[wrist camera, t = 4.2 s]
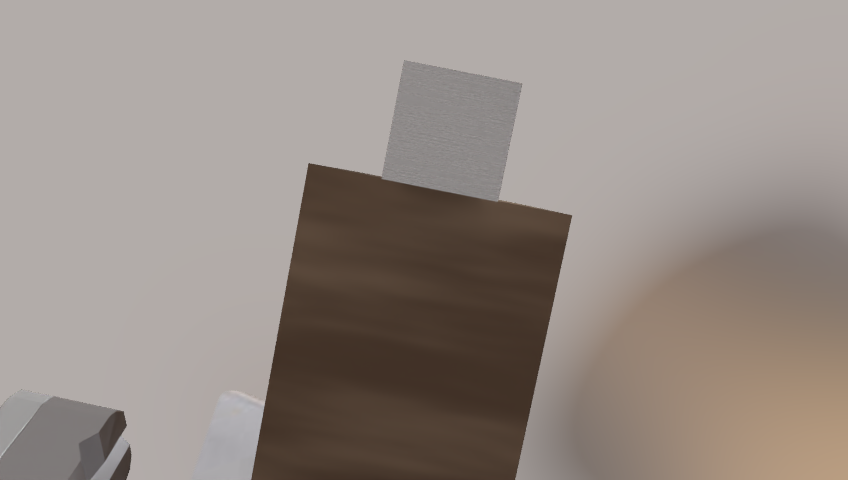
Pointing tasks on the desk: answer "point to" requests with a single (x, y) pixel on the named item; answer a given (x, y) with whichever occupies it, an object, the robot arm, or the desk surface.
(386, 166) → the block
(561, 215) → the pedestal
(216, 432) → the desk surface
